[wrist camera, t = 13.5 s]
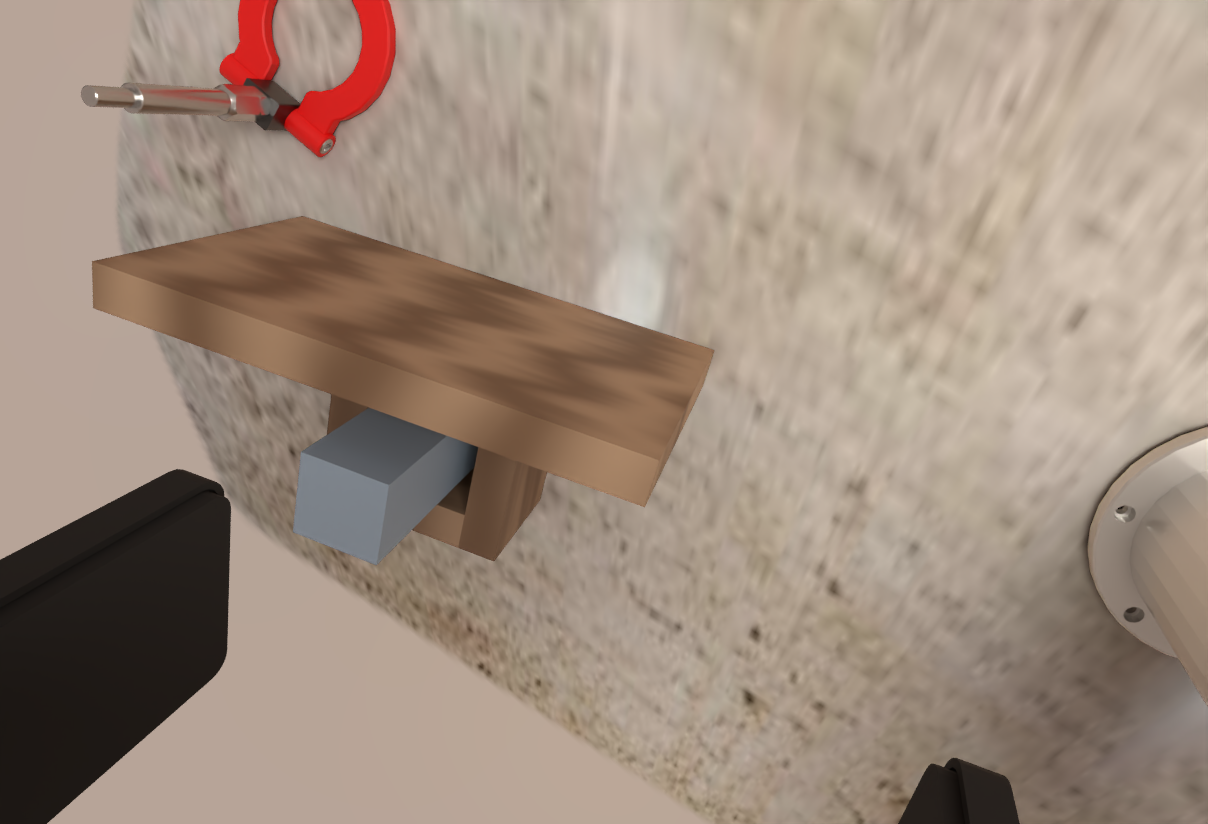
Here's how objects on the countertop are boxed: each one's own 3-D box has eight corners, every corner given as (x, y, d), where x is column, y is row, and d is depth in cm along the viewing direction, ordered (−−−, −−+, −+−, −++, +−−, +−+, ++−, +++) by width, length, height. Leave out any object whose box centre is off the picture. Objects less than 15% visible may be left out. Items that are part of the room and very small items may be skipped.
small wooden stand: (714, 350, 41) (659, 460, 29) (652, 541, 46) (582, 706, 34) (302, 216, 45) (92, 261, 32) (286, 406, 50) (98, 510, 37)
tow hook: (298, -97, 39) (219, 66, 43) (78, -195, 28) (-4, 41, 31) (430, 17, 40) (341, 169, 43) (269, -32, 28) (165, 184, 31)
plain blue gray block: (502, 388, 43) (389, 485, 32) (488, 452, 45) (376, 565, 34) (434, 364, 44) (301, 451, 33) (423, 429, 45) (292, 532, 34)
